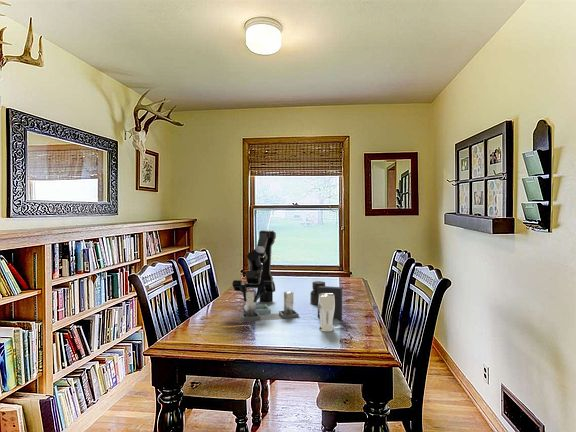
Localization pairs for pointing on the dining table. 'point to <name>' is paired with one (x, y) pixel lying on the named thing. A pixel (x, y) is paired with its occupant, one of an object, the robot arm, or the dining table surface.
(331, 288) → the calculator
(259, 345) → the dining table surface
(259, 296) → the robot arm
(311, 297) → the ink bottle
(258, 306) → the tote
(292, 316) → the tray
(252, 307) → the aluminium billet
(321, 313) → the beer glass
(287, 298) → the billet
